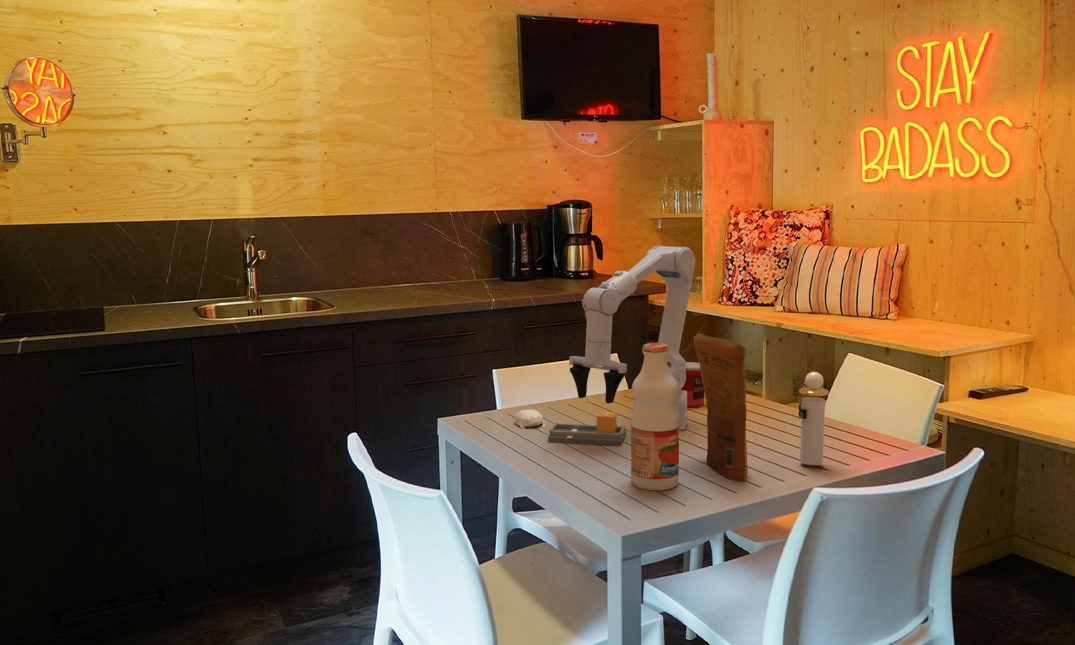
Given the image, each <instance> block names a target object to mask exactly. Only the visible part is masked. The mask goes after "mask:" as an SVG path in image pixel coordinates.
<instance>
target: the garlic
mask: <svg viewBox="0 0 1075 645" xmlns="http://www.w3.org/2000/svg"><path fill="white" fill-rule="evenodd" d="M514 420H515V421H514V422H515V424H516V425H517V426H519V428H521V429H522V428H534V426H535V427H538V426H540V425H542V427H546V423H545V420H544V418H543V414H542V413H541V412H539V411H538V410H535V409H523V410H519V411H518V412H517V413H516V414H515V416H514Z"/></svg>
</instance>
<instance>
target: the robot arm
mask: <svg viewBox="0 0 1075 645" xmlns="http://www.w3.org/2000/svg"><path fill="white" fill-rule="evenodd" d="M696 260H697V259H696V256H695V255H694V253H693V251H692V250H691V248H690V247H688V246H664V245H659V244H657V245H655V246H653V247H652V248H650V249H648V250H647V253H646V255H645V256H644V257H643V258H642V259H641V260H640V261H638V262H637V263H636V264H635V265H634V266H633V267H632V268H630V269H629V270H628V271H626V270H616V271H615V272H614V275H613V276H612V277H610V278H609V279H607V280H606V281H603V282H601V283H600V285H599V286H598V287H591V288H589V289H588V290H587V291H586V292H585V293H584V296H583V299H581V304H582V308H583V309H584V313H585V314H584V315H585V316H584V317H585V319H586V333H585V334H586V335H585V351H584V352H585V353H584V354H585V356H578V355H572V356H569V359H568V360H569V361H568V362H569V363H568V366H572V367H569V372H570V374H571V376H572V378H573V380H574V381H573V382H574V384H575V387H576V392H577V398H579V399H583V398H586V397H587V391H588V382H589V381H588V380H589V377H590V372H591V369H597V370H603V371H607V372H603V378H604V382H605V383H604V384H605V403H606V404H608V405H609V404H613V403H614V401H615V397H616V394H617V391H618V389H619V386H620V385H621V383H622V381H623V379H624V378H625V376H626V373H627V368H628V366H627V365H628V364H627V363H623V362H618V361H615V360H611V356H612V355H611V354H612V353H611V352H612V351H611V350H612V333H613V332H612V331H613V330H612V329H613V314H615V313H616V312H617V311H618V309H619V306H620V304H621V303H622V301H624V300H625V299H627V298H628V297H629V296H630V295H632V294H633V293H634V292H635V291H636V290H637V286H638V283H640V282H642V281H643V280H645V279H646V278H648V277H650V276H651V275H653V274H655V273H656V275H658V277H660V278H661V279H662V280H663V281H664V282H665V283H666V285H667V287H668V288H667V291H666V292H667V293H666V296H665V297H666V298H665V303H664V307H663V314H662V319H661V323H660V324H661V325H660V330H659V335H658V339H657V340H658V341H657V343H662V344H666V345H668V354H667V355H666V359H667V364H668V368H669V370H670V373H671V375H672V376H673V377H674V379H675V380H676V382H677V384H678V388H679V394H678V398H677V401H676V407H677V409H678V412H679V431H680V430H683V431H684V430H686V426H687V423H688V420H689V414H688V408H687V391H681V388H682V387H683V386H684V384H685V381H686V371H685V368H686V362H687V361H686V360H685V359H684V358H683V356H682V355H681V354H680V346H681V341H682V337H683V336H682V335H683V330H684V327H685V326H684V325H685V321H686V317H687V316H686V315H687V310H688V304H689V299H690V293H691V288H692V283H693V282H692V281H693V276H694V270H695V266H696Z"/></svg>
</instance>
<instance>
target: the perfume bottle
mask: <svg viewBox="0 0 1075 645" xmlns="http://www.w3.org/2000/svg"><path fill="white" fill-rule="evenodd" d="M804 382H805V385H806V386H805V387H800V388H799V390H798V392H799V394H801V395H804V397H802V398H801V400H800V401H799V403H798V419H799V421H800V420H801V423H800V424H801V426H800V449H799V450H800V452H799V454H800V455H799V462H800V463H802V464H804V465H807V466H821V465H822V464H823V463H824V441H825V440H824V437H825V413H826V412H825V410H826V400H825V398H822V397H825V396H828V395H829V394H830V392H829V389H826V388H823V385H824V377H823V375H822V374H821V373H819V372H817V371H811V372H809V373H807V374H806V376H805V378H804ZM800 418H801V419H800Z"/></svg>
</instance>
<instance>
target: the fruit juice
mask: <svg viewBox="0 0 1075 645" xmlns="http://www.w3.org/2000/svg"><path fill="white" fill-rule="evenodd" d="M642 353H643V354H642V355H643V356H644V357H643V358H644V359H643V362H642V367H641V370H640V372H639V374H638V375H637V376H636V377H635V379H634V380H633V382H632V384H631V395H632V400H633V406H632V409H631V414H630V415H631V416H630V479H631V483H632V484H633V486H635V487H636V488H639V489H641V490H642V489H643V490H646V491H647V490H648V491H665V490H666V491H667V490H670V489H673V488H675V487H677V486H678V484H679V478H680V475H679V474H680V473H679V471H680V469H679V468H680V465H679V464H680V461H679V460H680V430H679V412H678V409H677V407H676V401H677V398H678V394H679V388H678V384H677V382H676V380H675V379H674V377H673V376H672V375H671V373H670V370H669V368H668V364H669V363H668V362H667V359H666V355H667V354H668V345H666V344H662V343H658V342H650V343H649V342H647V343H645V344H643V345H642Z"/></svg>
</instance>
